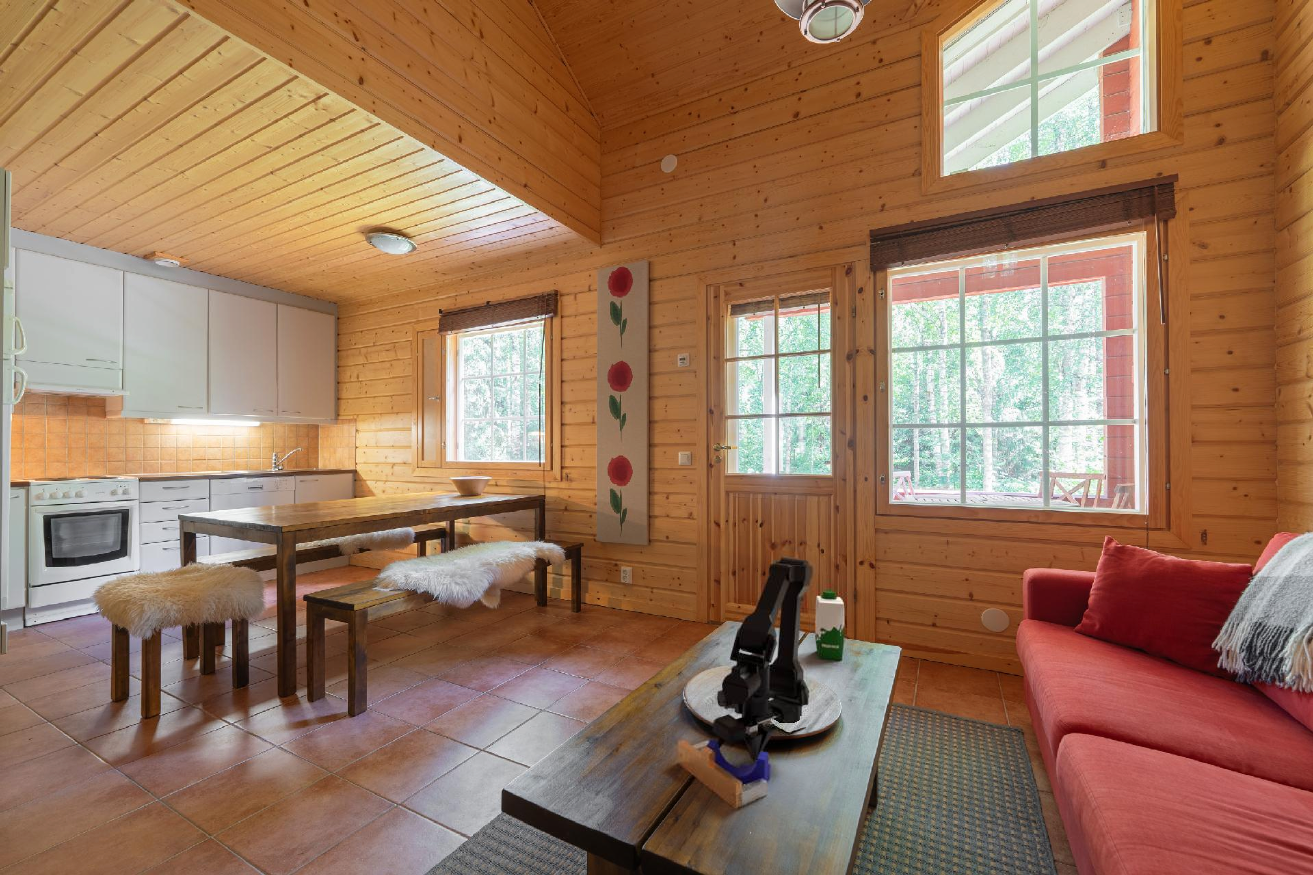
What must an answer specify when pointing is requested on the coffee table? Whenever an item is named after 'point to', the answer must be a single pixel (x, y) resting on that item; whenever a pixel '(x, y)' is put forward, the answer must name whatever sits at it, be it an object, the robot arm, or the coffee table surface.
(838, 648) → the milk carton
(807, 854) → the coffee table surface
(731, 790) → the keeper
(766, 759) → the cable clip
